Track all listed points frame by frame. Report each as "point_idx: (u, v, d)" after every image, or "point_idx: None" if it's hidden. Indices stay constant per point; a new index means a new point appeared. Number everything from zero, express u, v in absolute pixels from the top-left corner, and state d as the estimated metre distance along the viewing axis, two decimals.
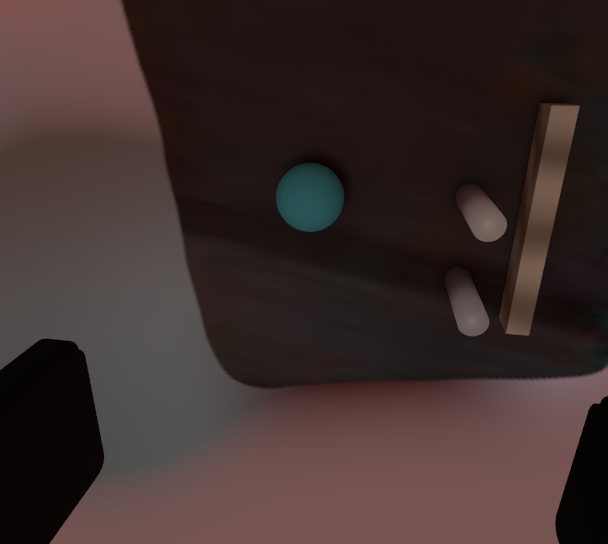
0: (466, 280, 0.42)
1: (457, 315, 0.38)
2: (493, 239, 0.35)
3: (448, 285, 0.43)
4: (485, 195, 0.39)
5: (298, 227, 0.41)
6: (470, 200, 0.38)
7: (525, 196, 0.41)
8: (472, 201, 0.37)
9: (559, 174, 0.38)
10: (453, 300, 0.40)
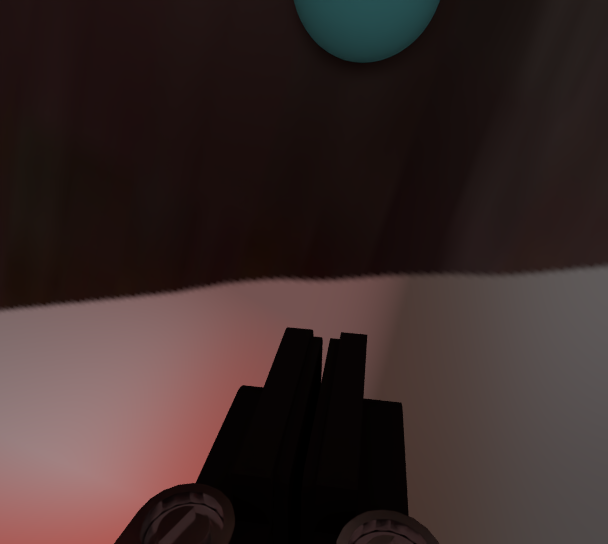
0: None
1: None
2: None
3: None
4: None
5: None
6: None
7: None
8: None
9: None
10: None
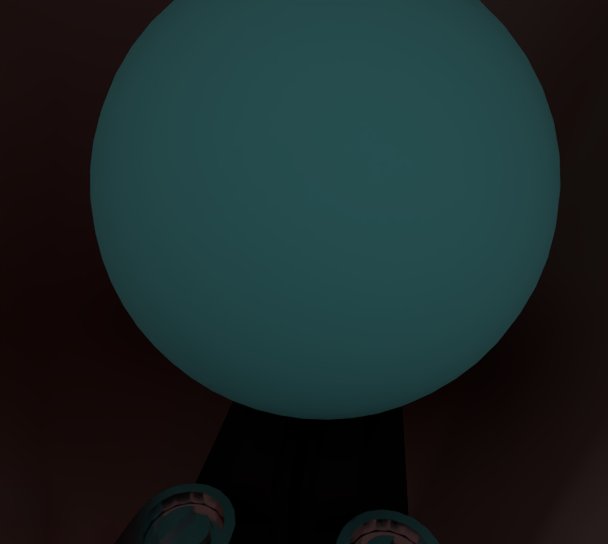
0: None
1: None
2: None
3: None
4: None
5: (508, 313, 0.05)
6: None
7: None
8: None
9: None
10: None
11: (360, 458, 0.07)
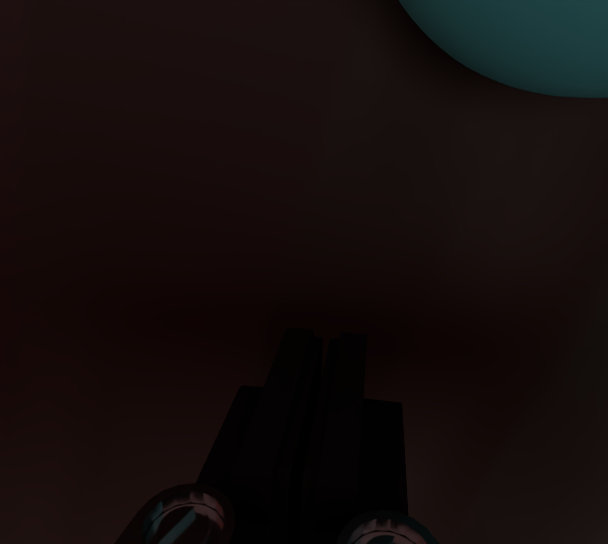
0: None
1: None
2: None
3: None
4: None
5: None
6: None
7: None
8: None
9: None
10: None
11: (360, 458, 0.07)
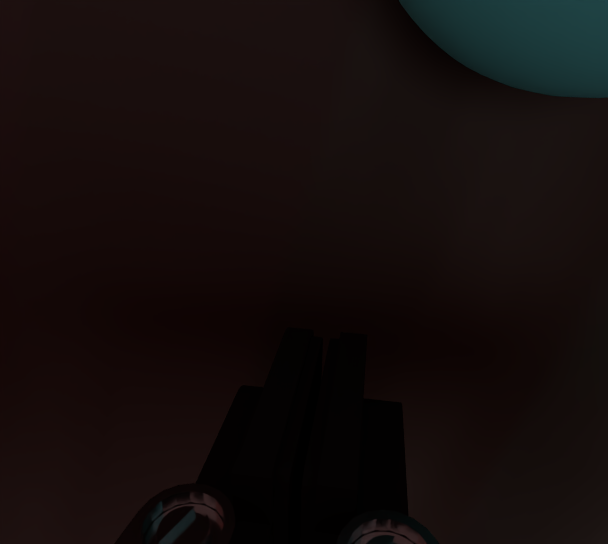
0: None
1: None
2: None
3: None
4: None
5: None
6: None
7: None
8: None
9: None
10: None
11: (360, 458, 0.07)
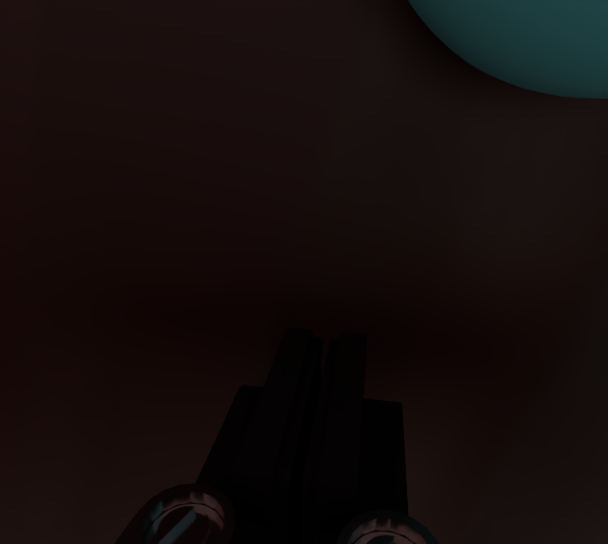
0: None
1: None
2: None
3: None
4: None
5: None
6: None
7: None
8: None
9: None
10: None
11: (360, 458, 0.07)
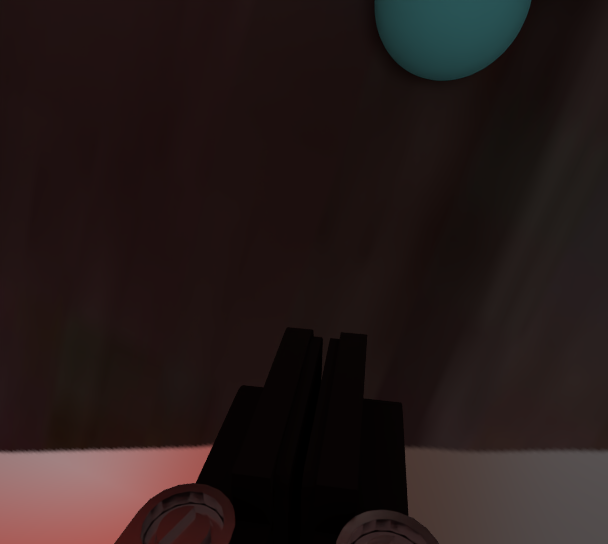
0: None
1: None
2: None
3: None
4: None
5: None
6: None
7: None
8: None
9: None
10: None
11: (360, 458, 0.07)
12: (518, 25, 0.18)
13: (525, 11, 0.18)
